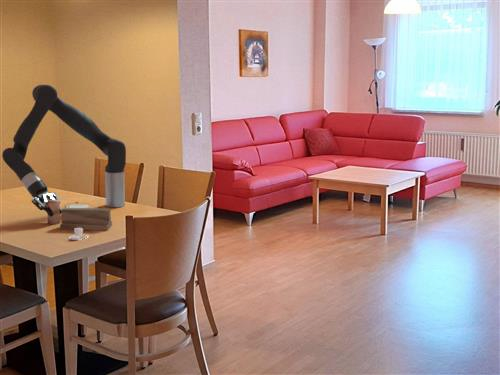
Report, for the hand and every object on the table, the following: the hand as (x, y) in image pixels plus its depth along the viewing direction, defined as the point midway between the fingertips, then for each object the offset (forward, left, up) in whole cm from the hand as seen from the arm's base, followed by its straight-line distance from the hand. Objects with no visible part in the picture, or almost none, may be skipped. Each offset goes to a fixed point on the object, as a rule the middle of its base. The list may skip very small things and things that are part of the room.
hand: (56, 214), depth 270 cm
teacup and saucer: (+23, +12, -5) cm, 27 cm away
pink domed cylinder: (-1, -2, -4) cm, 5 cm away
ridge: (+6, +14, -4) cm, 16 cm away
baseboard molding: (-19, +3, -5) cm, 20 cm away
